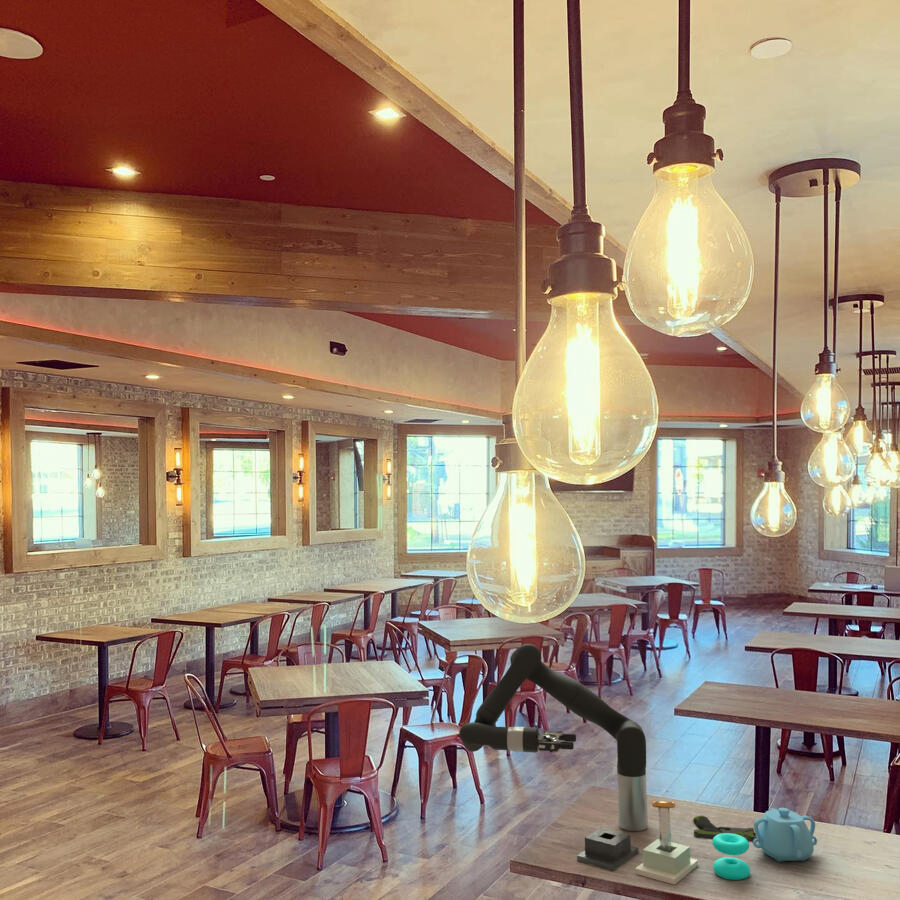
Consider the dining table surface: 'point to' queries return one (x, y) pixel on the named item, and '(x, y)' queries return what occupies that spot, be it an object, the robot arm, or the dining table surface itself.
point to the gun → (720, 829)
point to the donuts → (730, 865)
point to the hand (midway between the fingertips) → (574, 741)
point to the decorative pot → (785, 835)
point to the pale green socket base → (666, 863)
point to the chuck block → (607, 849)
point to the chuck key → (664, 824)
